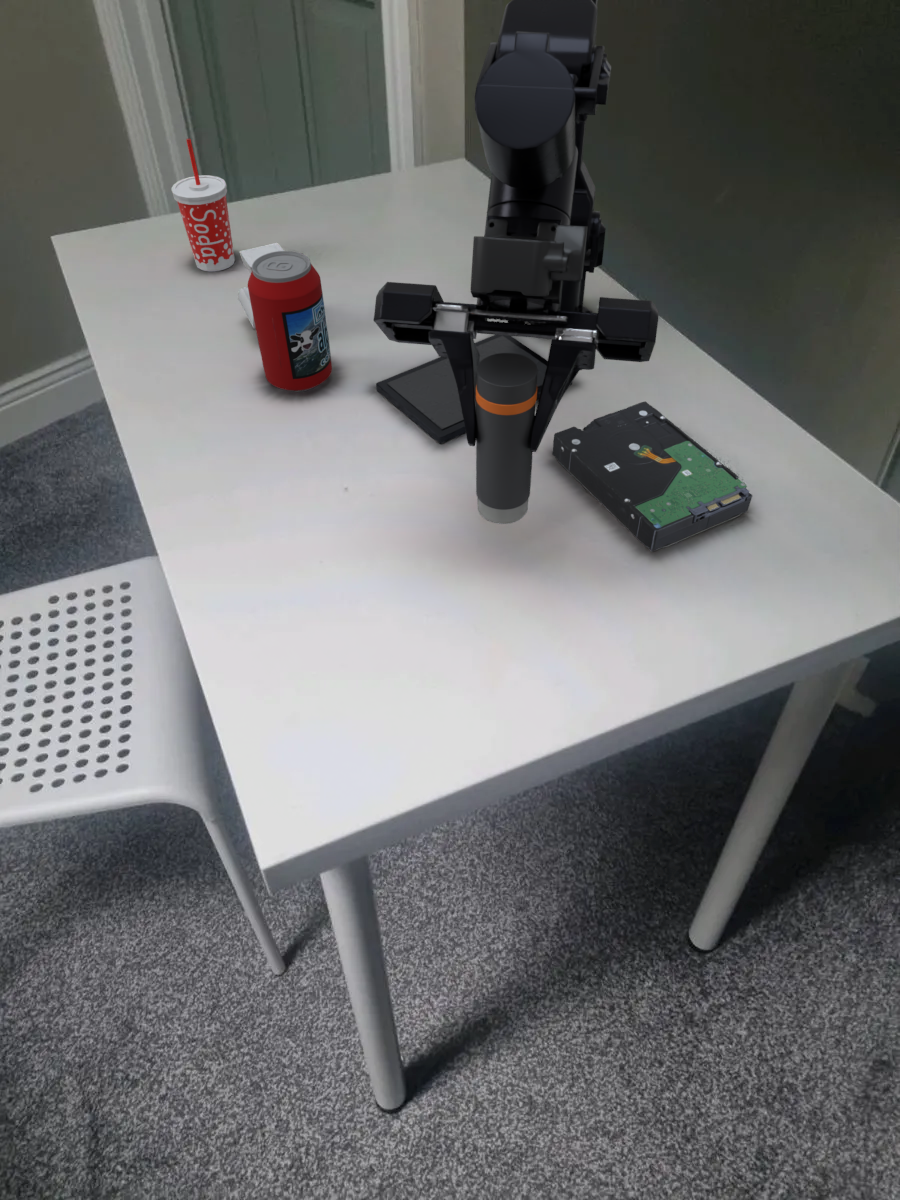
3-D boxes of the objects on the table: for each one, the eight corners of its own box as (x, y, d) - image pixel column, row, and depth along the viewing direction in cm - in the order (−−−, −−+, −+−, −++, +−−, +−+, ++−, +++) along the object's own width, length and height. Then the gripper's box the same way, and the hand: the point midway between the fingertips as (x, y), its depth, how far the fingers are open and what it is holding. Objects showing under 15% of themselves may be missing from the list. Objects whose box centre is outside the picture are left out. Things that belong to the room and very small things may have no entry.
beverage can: (322, 400, 87) (305, 285, 79) (256, 393, 88) (232, 279, 80) (341, 362, 92) (327, 249, 83) (279, 356, 93) (258, 244, 84)
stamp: (321, 340, 95) (310, 264, 89) (260, 354, 93) (245, 278, 87) (296, 301, 101) (284, 227, 94) (238, 314, 99) (223, 240, 93)
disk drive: (548, 459, 81) (652, 556, 72) (550, 434, 79) (657, 530, 70) (640, 424, 84) (750, 512, 75) (644, 398, 82) (758, 486, 73)
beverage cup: (181, 272, 106) (150, 148, 96) (202, 248, 110) (174, 127, 100) (229, 276, 105) (203, 151, 95) (248, 252, 109) (225, 130, 99)
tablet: (503, 337, 95) (503, 330, 94) (572, 384, 88) (573, 376, 88) (376, 390, 88) (375, 382, 88) (440, 444, 82) (440, 436, 82)
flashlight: (507, 482, 69) (512, 345, 60) (540, 511, 67) (551, 372, 58) (464, 503, 68) (463, 365, 59) (497, 533, 65) (501, 394, 57)
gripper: (367, 158, 54) (340, 416, 55) (681, 174, 52) (648, 444, 52) (403, 228, 65) (379, 442, 66) (663, 244, 63) (635, 467, 63)
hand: (501, 448), depth 62 cm, fingers closed on flashlight, 4 cm apart
